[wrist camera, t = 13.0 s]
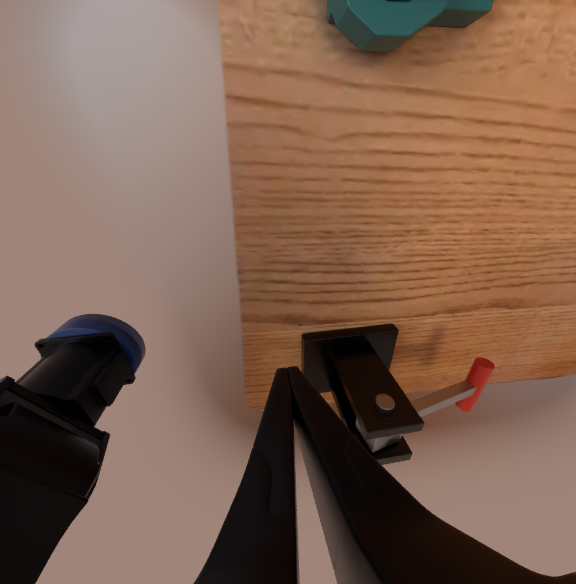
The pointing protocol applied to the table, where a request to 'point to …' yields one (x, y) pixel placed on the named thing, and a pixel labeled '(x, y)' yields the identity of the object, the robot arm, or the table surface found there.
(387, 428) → the bracket
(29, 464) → the robot arm
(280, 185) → the table surface
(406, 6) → the button box
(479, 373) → the lever
